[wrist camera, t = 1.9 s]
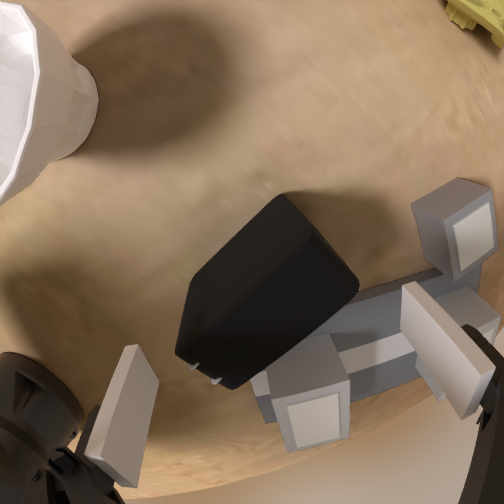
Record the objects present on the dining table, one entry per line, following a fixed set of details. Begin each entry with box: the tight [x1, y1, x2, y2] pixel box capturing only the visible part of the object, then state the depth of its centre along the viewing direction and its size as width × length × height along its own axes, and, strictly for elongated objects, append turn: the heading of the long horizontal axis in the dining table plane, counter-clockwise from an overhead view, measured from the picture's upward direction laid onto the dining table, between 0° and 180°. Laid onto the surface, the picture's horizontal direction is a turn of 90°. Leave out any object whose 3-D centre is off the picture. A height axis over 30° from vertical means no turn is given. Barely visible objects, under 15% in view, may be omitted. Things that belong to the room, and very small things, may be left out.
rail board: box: [250, 262, 502, 453], centre depth 25 cm, size 26×14×8 cm, turn 103°
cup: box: [0, 1, 99, 206], centre depth 13 cm, size 12×12×11 cm
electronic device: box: [175, 194, 360, 390], centre depth 19 cm, size 4×10×10 cm, turn 134°
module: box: [411, 178, 498, 282], centre depth 22 cm, size 6×6×5 cm
